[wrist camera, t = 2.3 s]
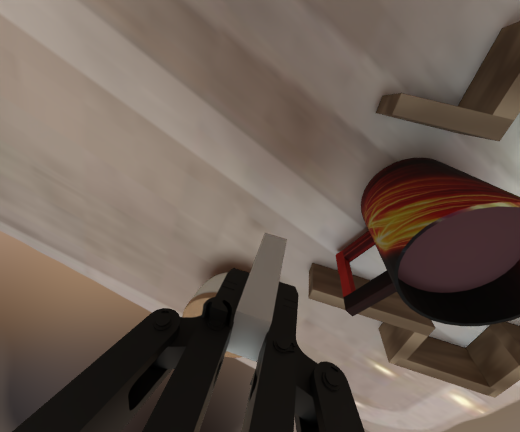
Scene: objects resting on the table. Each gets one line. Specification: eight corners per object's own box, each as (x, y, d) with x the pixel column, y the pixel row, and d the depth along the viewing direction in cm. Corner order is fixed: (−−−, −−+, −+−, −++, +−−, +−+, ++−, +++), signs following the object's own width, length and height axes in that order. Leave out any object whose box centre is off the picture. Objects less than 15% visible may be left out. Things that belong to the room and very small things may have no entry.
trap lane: (419, 10, 18) (452, -20, 14) (866, 103, 16) (1077, 102, 12) (296, 302, 34) (293, 331, 30) (510, 371, 32) (541, 413, 28)
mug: (333, 252, 30) (345, 333, 19) (385, 146, 23) (447, 180, 13) (407, 275, 29) (463, 374, 18) (482, 173, 23) (634, 233, 12)
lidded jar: (287, 289, 34) (279, 349, 26) (245, 321, 39) (228, 380, 30) (230, 245, 32) (202, 293, 24) (194, 284, 37) (161, 336, 29)
